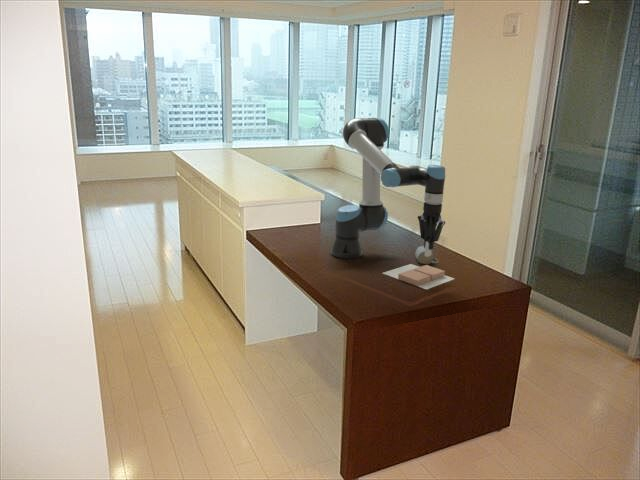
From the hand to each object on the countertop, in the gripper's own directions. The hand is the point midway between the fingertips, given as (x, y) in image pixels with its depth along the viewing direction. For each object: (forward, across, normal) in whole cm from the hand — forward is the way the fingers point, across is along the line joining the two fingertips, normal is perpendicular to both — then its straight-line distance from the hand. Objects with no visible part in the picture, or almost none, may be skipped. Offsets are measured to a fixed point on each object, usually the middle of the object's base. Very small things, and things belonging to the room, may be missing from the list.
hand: (427, 255), depth 229 cm
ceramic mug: (+10, -11, +15) cm, 21 cm away
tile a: (+7, -4, -10) cm, 13 cm away
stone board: (+10, -1, -5) cm, 11 cm away
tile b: (+7, -4, 0) cm, 8 cm away
